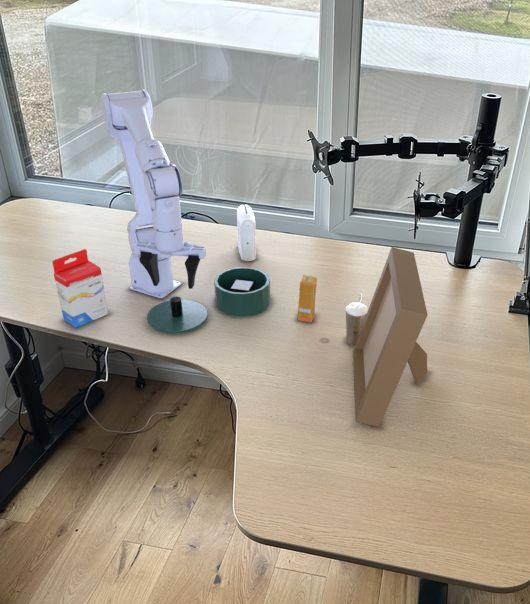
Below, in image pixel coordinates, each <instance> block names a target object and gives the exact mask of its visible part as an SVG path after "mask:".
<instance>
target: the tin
mask: <svg viewBox="0 0 530 604" xmlns="http://www.w3.org/2000/svg"><path fill="white" fill-rule="evenodd" d="M236 280H243V281H251V282H254V291H252V292H244V293H240V292H231V287H232V286H233V284H234V282H235V281H236ZM213 285H214V301H215V306H216V308H217V309H218V310H219V312H221V313H223V314H225V315H228V316H232V317H238V318H239V317H241V318H245V317H252V316H256V315H259V314H262V313H263V312H264V311H266V310H267V309H268V308H269V307H270V303H271V278H270V277H269V274H268V273H266V272H264V271H263V270H261V269H258V268H256V267H255V268H254V267H250V266H238V267H237V266H236V267H231V268H228V269H225V270H222V271H221V272H219V273H218V274H217V275H215V277H214V280H213Z"/></svg>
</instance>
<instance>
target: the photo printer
mask: <svg viewBox="0 0 530 604" xmlns="http://www.w3.org/2000/svg"><path fill="white" fill-rule="evenodd" d="M236 220H237V221H236V222H237V225H236V226H237V247H238V251H239V256H240V259H241V260H242V261H244V262H253V261H254V260H256V259H257V231H256V230H257V228H256V227H257V225H256V218H255V214H254V211H253V208H252V207H251V206H249V205H248V204H241V205H239V206H238V208H237V210H236Z"/></svg>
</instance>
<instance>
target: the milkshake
mask: <svg viewBox="0 0 530 604" xmlns="http://www.w3.org/2000/svg"><path fill="white" fill-rule="evenodd" d="M362 299H363V294H362V293H360V294H359V299H358V302H356V301H353V302H351V303H348V304H347V305H346V307H345V329H346V331H345V332H346V334H345V335H346V337H345V338H346V343H347V344H348V345H350V346H355V344H356V342H357V339H358V336H359V333H360V331H361V328H362V325H363V323H364V320H365V317H366V315H367V312H368V309H369V307H367V305H366V304H364V303H362Z"/></svg>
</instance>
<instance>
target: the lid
mask: <svg viewBox="0 0 530 604" xmlns="http://www.w3.org/2000/svg"><path fill="white" fill-rule="evenodd" d="M208 317H209V316H208V310H207V308H206V307H205V305H203V304H202V303H200V302H197V301H195V300H191V299H182V297H180V296H172V297H170V299H169V300H165V301H163V302H160V303H158V304H156V305H155V306H153V307H151V308H150V309H149V311H148V312H147V314H146V321H147V324H148V325H149V326H150V328H152V329H154V330H155V331H158V332H161V333H165V334H183V333H187V332H190V331H193V330H196V329H197V328H200V327H201V326H203V325H204V324H205V323H206V322H207V319H208Z"/></svg>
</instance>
